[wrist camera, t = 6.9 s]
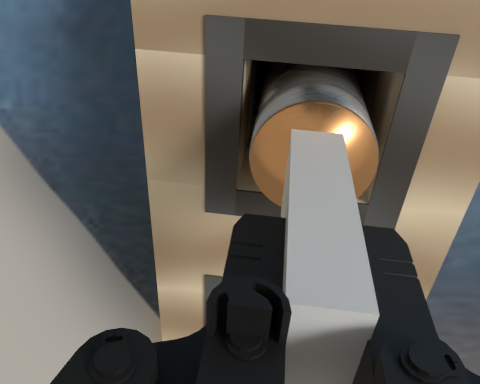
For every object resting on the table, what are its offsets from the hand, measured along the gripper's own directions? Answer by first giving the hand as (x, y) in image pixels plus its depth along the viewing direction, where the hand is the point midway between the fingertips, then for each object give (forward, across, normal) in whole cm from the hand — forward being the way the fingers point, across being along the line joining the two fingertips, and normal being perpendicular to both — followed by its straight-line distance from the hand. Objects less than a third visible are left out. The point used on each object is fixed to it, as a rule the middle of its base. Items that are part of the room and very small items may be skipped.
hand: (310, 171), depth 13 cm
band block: (+9, 0, -5) cm, 11 cm away
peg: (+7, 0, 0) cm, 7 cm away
